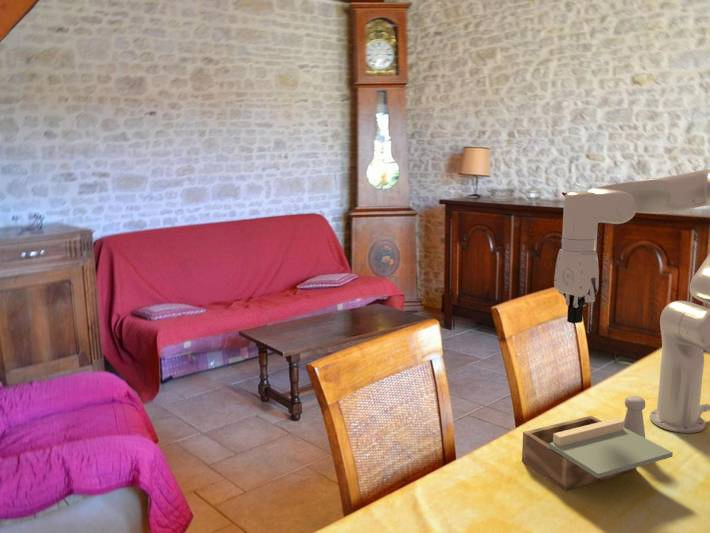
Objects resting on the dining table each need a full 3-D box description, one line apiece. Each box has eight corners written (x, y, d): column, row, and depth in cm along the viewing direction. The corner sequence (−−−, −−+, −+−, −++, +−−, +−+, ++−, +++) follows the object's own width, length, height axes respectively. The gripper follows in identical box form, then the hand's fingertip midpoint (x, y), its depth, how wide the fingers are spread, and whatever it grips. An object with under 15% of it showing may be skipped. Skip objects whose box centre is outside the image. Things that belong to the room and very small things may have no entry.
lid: (619, 429, 144) (620, 417, 143) (672, 456, 131) (673, 443, 131) (548, 447, 136) (549, 434, 136) (598, 478, 124) (599, 464, 123)
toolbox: (589, 443, 153) (591, 415, 152) (636, 469, 141) (638, 440, 139) (521, 460, 145) (523, 432, 144) (565, 490, 133) (566, 459, 131)
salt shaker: (647, 457, 146) (651, 404, 143) (620, 455, 147) (624, 402, 145) (642, 445, 152) (646, 393, 149) (616, 443, 153) (619, 392, 150)
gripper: (544, 242, 153) (540, 316, 156) (590, 251, 139) (585, 332, 143) (568, 239, 156) (564, 312, 159) (616, 249, 142) (610, 328, 146)
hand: (574, 321), depth 151 cm, fingers closed
